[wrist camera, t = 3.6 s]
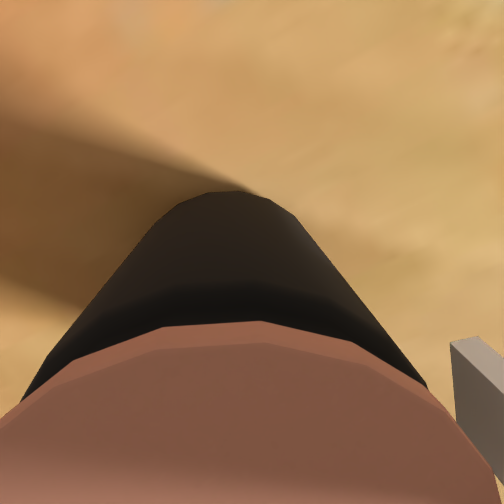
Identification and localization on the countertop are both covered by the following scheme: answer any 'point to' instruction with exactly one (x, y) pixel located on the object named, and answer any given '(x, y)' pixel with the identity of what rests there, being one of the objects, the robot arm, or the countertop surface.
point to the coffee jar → (233, 383)
